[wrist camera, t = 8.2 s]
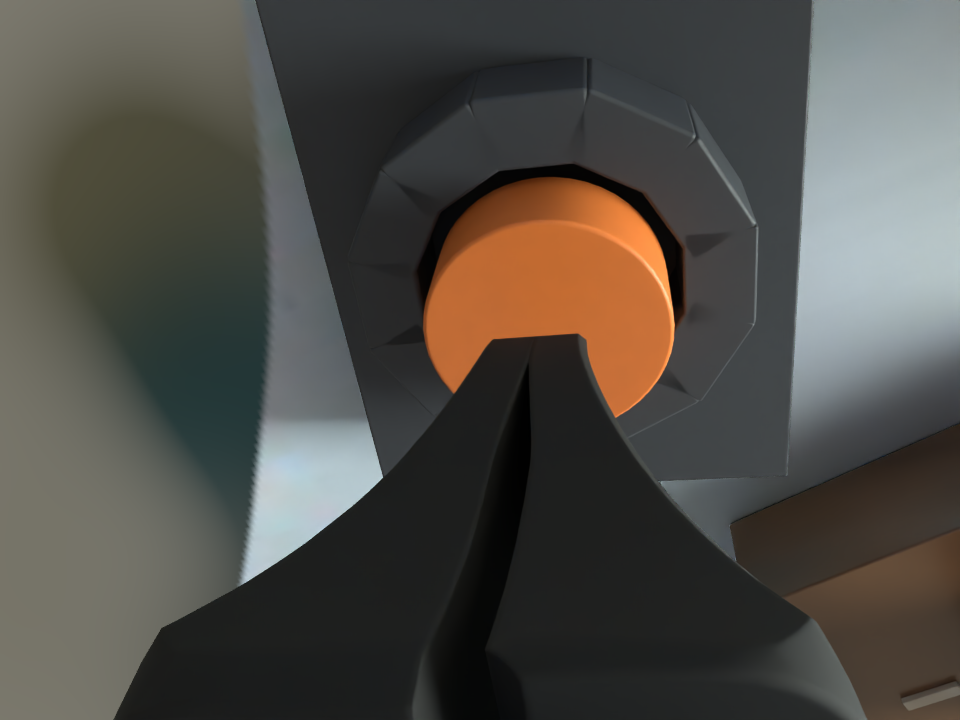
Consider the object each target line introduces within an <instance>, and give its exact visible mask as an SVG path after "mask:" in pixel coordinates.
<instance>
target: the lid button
mask: <svg viewBox="0 0 960 720" xmlns="http://www.w3.org/2000/svg"><path fill="white" fill-rule="evenodd" d="M674 327H675V324H674V314H673V307H672V300H671V294H670V287H669V281H668V274H667V268H666V262H665V258H664V254H663V251H662V248H661V246H660V243H659V241H658V239H657V236H656V235H655V233H654V232H653V230H652V228H651V227H650V225H649V224H648V223H647V221H646V220H645V219H644V218H643V217H642V215H641V214H640V213H639V212H638V211H637V210H636V209H634V208H633V207H632V206H631V205H630V204H629V203H628V202H626V201H625V200H623V199H622V198H620V197H619V196H617V195H616V194H614V193H612V192H610V191H608V190H606V189H604V188H602V187H600V186H597V185H594V184H591V183H588V182H585V181H580V180H576V179H571V178H561V177H539V178H532V179H526V180H521V181H517V182H514V183H511V184H507V185H505V186H503V187H500V188H498V189H496V190H493V191H492V192H490V193H488V194H487V195H485V196H483V197H482V198H480V199H479V200H477V201H476V202H475V203H474V204H472V205H471V206H470V207H469V208H468V209H467V210H466V211H465V212H464V213H463V214H462V215H461V216H460V217H459V218H458V220H457V221H456V222H455V224H454V225H453V227H452V228H451V229H450V231H449V233H448V235H447V237H446V239H445V241H444V244H443V247H442V250H441V253H440V256H439V259H438V262H437V265H436V269H435V272H434V275H433V279H432V282H431V285H430V288H429V292H428V295H427V298H426V302H425V308H424V314H423V331H424V338H425V344H426V347H427V351H428V354H429V357H430V359H431V361H432V363H433V366H434V368H435V370H436V371H437V373H438V375H439V376H440V378H441V379H442V381H443V382H444V383H445V385H446V386H447V387H448V388H449V389H450V391H451V392H452V393H453V394H454V393H455V392H456V390H457V389H458V387H459V386H460V385H461V383H462V382H463V380H464V379H465V377H466V376H467V374H468V373H469V372H470V370H471V369H472V367H473V366H474V364H475V363H476V361H477V360H478V358H479V356H480V355H481V353H482V352H483V350H484V349H485V347H486V346H487V345H488V344H489V343H490V342H491V341H492V339H503V338H518V337H532V336H547V335H561V334H575V333H578V334H580V335H581V336H582V337H583V338H585V339H586V340H587V350H588V357H589V360H590V364H591V367H592V370H593V372H594V375H595V377H596V380H597V382H598V385H599V387H600V389H601V391H602V393H603V395H604V397H605V399H606V401H607V403H608V405H609V407H610V409H611V411H612V412H613V414H614V416H615V418H616V417H618V416H619V415H621V414H623V413H624V412H626V411H628V410H629V409H630V408H632V407H633V406H634V405H635V404H637V403H638V402H639V401H640V400H641V399H642V398H643V397H644V396H645V395H646V394H647V393H648V392H649V391H650V390H651V389H652V387H653V386H654V385H655V383H656V382H657V381H658V379H659V378H660V376H661V374H662V372H663V371H664V369H665V367H666V365H667V362H668V360H669V357H670V354H671V351H672V346H673V341H674Z"/></svg>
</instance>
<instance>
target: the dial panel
mask: <svg viewBox="0 0 960 720" xmlns="http://www.w3.org/2000/svg"><path fill="white" fill-rule="evenodd" d="M730 530H731V536H732V541H733V547H734V552H735V557H736V562H737V563H738V564H739V565H741V566H742V567H743V568H744V569H746V570H747V571H748V572H749V573H750V574H752V575H753V576H754V577H755V578H756V579H758V580H759V581H760V582H761V583H762V584H764V585H765V586H766V587H768V588H769V589H771V590H772V591H774V592H775V593H776V594H778V595H779V596H781V597H782V598H784V599H785V600H787V601H788V602H789V603H791V604H792V605H794V606H795V607H797V608H798V609H800V610H801V611H802V612H804V613H805V614H807V615H808V616H810V617H811V618H812V619H814V620H815V621H816V622H817V623H818V625H819V627H820V628H821V630H822V631H823V633H824V635H825V636H826V638H827V640H828V642H829V643H830V645H831V647H832V648H833V650H834V652H835V654H836V655H837V657H838V659H839V661H840V663H841V665H842V667H843V668H844V670H845V672H846V674H847V676H848V678H849V680H850V682H851V684H852V686H853V688H854V691H855V693H856V695H857V697H858V699H859V702H860V704H861V706H862V709H863V711H864V713H865V716H866V718H867V720H960V423H959V424H957V425H955V426H953V427H950V428H948V429H946V430H943V431H941V432H939V433H937V434H934V435H932V436H930V437H928V438H925V439H923V440H921V441H918V442H916V443H914V444H912V445H909V446H907V447H905V448H902V449H900V450H898V451H896V452H893V453H891V454H889V455H887V456H884V457H882V458H880V459H877V460H875V461H873V462H871V463H868V464H866V465H864V466H861V467H859V468H857V469H855V470H852V471H850V472H848V473H846V474H843V475H841V476H839V477H836V478H834V479H832V480H830V481H827V482H825V483H823V484H821V485H818V486H816V487H814V488H811V489H809V490H807V491H805V492H802V493H800V494H798V495H795V496H793V497H791V498H789V499H786V500H784V501H782V502H780V503H777V504H775V505H773V506H770V507H768V508H766V509H764V510H761V511H759V512H757V513H754V514H752V515H750V516H748V517H745V518H743V519H741V520H739V521H736V522H734V523H732V524H730Z"/></svg>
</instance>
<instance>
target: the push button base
mask: <svg viewBox="0 0 960 720" xmlns="http://www.w3.org/2000/svg"><path fill="white" fill-rule="evenodd" d="M255 1H256V5H257V8H258V12H259V16H260V20H261V23H262V27H263V31H264V35H265V38H266V42H267V46H268V49H269V53H270V57H271V61H272V64H273V68H274V72H275V76H276V79H277V83H278V87H279V90H280V94H281V98H282V102H283V105H284V109H285V113H286V117H287V120H288V124H289V128H290V131H291V135H292V139H293V143H294V146H295V150H296V154H297V158H298V161H299V165H300V169H301V172H302V176H303V180H304V184H305V187H306V191H307V195H308V199H309V202H310V206H311V210H312V213H313V217H314V221H315V225H316V228H317V232H318V236H319V239H320V243H321V247H322V251H323V254H324V258H325V262H326V266H327V269H328V273H329V277H330V280H331V284H332V288H333V292H334V295H335V299H336V303H337V307H338V310H339V314H340V318H341V321H342V325H343V329H344V333H345V336H346V340H347V344H348V348H349V351H350V355H351V359H352V362H353V366H354V370H355V374H356V377H357V381H358V385H359V389H360V392H361V396H362V400H363V403H364V407H365V411H366V415H367V418H368V422H369V426H370V430H371V433H372V437H373V441H374V444H375V448H376V452H377V456H378V459H379V463H380V467H381V471H382V474H383V477H384V476H385V475H386V474H387V473H388V472H389V471H390V470H391V469H392V468H393V467H394V466H395V465H396V464H397V463H398V462H399V461H400V460H401V458H402V457H403V456H404V455H405V454H406V453H407V451H408V450H409V449H410V448H411V447H412V446H413V445H414V443H415V442H416V441H417V440H418V439H419V438H420V436H421V435H422V434H423V433H424V432H425V431H426V430H427V428H428V427H429V426H430V425H431V423H432V422H433V421H434V419H435V418H436V417H437V416H438V414H439V413H440V412H441V410H442V409H443V408H444V406H445V405H446V404H447V402H448V401H449V400H450V398H451V397H452V396H453V393H452V392H451V391H450V389H449V388H448V387H447V386H446V385H445V383H444V382H443V381H442V379H441V378H440V376H439V375H438V373H437V371H436V370H435V368H434V366H433V363H432V361H431V359H430V357H429V354H428V351H427V347H426V344H425V338H424V331H423V314H424V308H425V302H426V298H427V295H428V292H429V288H430V285H431V282H432V279H433V275H434V272H435V269H436V265H437V262H438V259H439V256H440V253H441V250H442V247H443V244H444V241H445V239H446V237H447V235H448V233H449V231H450V229H451V228H452V227H453V225H454V224H455V222H456V221H457V220H458V218H459V217H460V216H461V215H462V214H463V213H464V212H465V211H466V210H467V209H468V208H469V207H470V206H471V205H472V204H474V203H475V202H476V201H477V200H479V199H480V198H482V197H483V196H485V195H487V194H488V193H490V192H492V191H493V190H496V189H498V188H500V187H503V186H505V185H507V184H511V183H514V182H517V181H521V180H526V179H532V178H539V177H561V178H571V179H576V180H580V181H585V182H588V183H591V184H594V185H597V186H600V187H602V188H604V189H606V190H608V191H610V192H612V193H614V194H616V195H617V196H619V197H620V198H622V199H623V200H625V201H626V202H628V203H629V204H630V205H631V206H632V207H633V208H634V209H636V210H637V211H638V212H639V213H640V214H641V215H642V217H643V218H644V219H645V220H646V221H647V223H648V224H649V225H650V227H651V228H652V230H653V232H654V233H655V235H656V236H657V239H658V241H659V243H660V246H661V248H662V251H663V254H664V258H665V262H666V268H667V274H668V281H669V287H670V294H671V300H672V307H673V314H674V324H675V327H674V341H673V346H672V351H671V354H670V357H669V360H668V362H667V365H666V367H665V369H664V371H663V372H662V374H661V376H660V378H659V379H658V381H657V382H656V383H655V385H654V386H653V387H652V389H651V390H650V391H649V392H648V393H647V394H646V395H645V396H644V397H643V398H642V399H641V400H640V401H639V402H638V403H637V404H635V405H634V406H633V407H632V408H630V409H629V410H628V411H626V412H624V413H623V414H621V415H619V416H618V417H616V420H617V422H618V423H619V425H620V427H621V428H622V430H623V432H624V433H625V435H626V437H627V438H628V440H629V441H630V443H631V444H632V446H633V447H634V449H635V450H636V452H637V453H638V455H639V456H640V458H641V459H642V461H643V462H644V463H645V465H646V466H647V467H648V469H649V470H650V471H651V473H652V474H653V475H654V477H655V478H656V479H657V480H658V481H672V480H696V479H720V478H745V477H769V476H786V475H787V471H788V453H789V436H790V418H791V401H792V383H793V366H794V348H795V330H796V313H797V295H798V278H799V260H800V242H801V225H802V207H803V190H804V172H805V155H806V137H807V119H808V102H809V84H810V67H811V49H812V31H813V14H814V0H255Z"/></svg>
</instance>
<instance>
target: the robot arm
mask: <svg viewBox="0 0 960 720" xmlns="http://www.w3.org/2000/svg"><path fill="white" fill-rule="evenodd" d="M114 720H867V718H866V716H865V713H864V711H863V709H862V706H861V704H860V702H859V699H858V697H857V695H856V693H855V691H854V688H853V686H852V684H851V682H850V680H849V678H848V676H847V674H846V672H845V670H844V668H843V667H842V665H841V663H840V661H839V659H838V657H837V655H836V654H835V652H834V650H833V648H832V647H831V645H830V643H829V642H828V640H827V638H826V636H825V635H824V633H823V631H822V630H821V628H820V627H819V625H818V623H817V622H816V621H815V620H814V619H812V618H811V617H810V616H808V615H807V614H805V613H804V612H802V611H801V610H800V609H798V608H797V607H795V606H794V605H792V604H791V603H789V602H788V601H787V600H785V599H784V598H782V597H781V596H779V595H778V594H776V593H775V592H774V591H772V590H771V589H769V588H768V587H766V586H765V585H764V584H762V583H761V582H760V581H759V580H758V579H756V578H755V577H754V576H753V575H752V574H750V573H749V572H748V571H747V570H746V569H744V568H743V567H742V566H741V565H739V564H738V563H737V562H736V561H735V560H733V559H732V558H731V557H730V556H729V555H728V554H727V553H726V552H725V551H724V550H723V549H722V548H721V547H720V546H719V545H717V544H716V543H715V542H714V541H713V540H712V539H711V538H710V537H709V536H708V535H707V534H706V533H705V532H704V531H703V530H702V529H701V528H700V527H699V526H698V525H697V524H696V523H695V522H693V521H692V520H691V519H690V518H689V516H688V515H687V514H686V513H685V512H684V511H683V510H682V509H681V508H680V506H679V505H678V504H677V503H676V502H675V501H674V500H673V499H672V497H671V496H670V495H669V494H668V493H667V492H666V490H665V489H664V488H663V487H662V485H661V484H660V483H659V482H658V480H657V479H656V478H655V477H654V475H653V474H652V473H651V471H650V470H649V469H648V467H647V466H646V465H645V463H644V462H643V461H642V459H641V458H640V456H639V455H638V453H637V452H636V450H635V449H634V447H633V446H632V444H631V443H630V441H629V440H628V438H627V437H626V435H625V433H624V432H623V430H622V428H621V427H620V425H619V423H618V422H617V420H616V418H615V416H614V414H613V412H612V411H611V409H610V407H609V405H608V403H607V401H606V399H605V397H604V395H603V393H602V391H601V389H600V387H599V385H598V382H597V380H596V377H595V375H594V372H593V370H592V367H591V364H590V360H589V357H588V350H587V340H586V339H585V338H583V337H582V336H581V335H580V334H578V333H575V334H561V335H547V336H532V337H518V338H503V339H492V341H491V342H490V343H489V344H488V345H487V346H486V347H485V349H484V350H483V352H482V353H481V355H480V356H479V358H478V360H477V361H476V363H475V364H474V366H473V367H472V369H471V370H470V372H469V373H468V374H467V376H466V377H465V379H464V380H463V382H462V383H461V385H460V386H459V387H458V389H457V390H456V392H455V393H454V394H453V396H452V397H451V398H450V400H449V401H448V402H447V404H446V405H445V406H444V408H443V409H442V410H441V412H440V413H439V414H438V416H437V417H436V418H435V419H434V421H433V422H432V423H431V425H430V426H429V427H428V428H427V430H426V431H425V432H424V433H423V434H422V435H421V436H420V438H419V439H418V440H417V441H416V442H415V443H414V445H413V446H412V447H411V448H410V449H409V450H408V451H407V453H406V454H405V455H404V456H403V457H402V458H401V460H400V461H399V462H398V463H397V464H396V465H395V466H394V467H393V468H392V469H391V470H390V471H389V472H388V473H387V474H386V475H385V476H384V477H383V478H382V479H381V480H380V481H379V482H378V483H377V484H376V485H375V486H374V487H373V488H372V489H371V490H370V491H369V492H368V493H367V494H366V495H365V496H363V497H362V498H361V499H360V500H359V501H358V502H357V503H356V504H354V505H353V506H352V507H351V508H350V509H348V510H347V511H346V512H345V513H343V514H342V515H341V516H340V517H338V518H337V519H336V520H334V521H333V522H332V523H331V524H329V525H328V526H327V527H326V528H324V529H323V530H322V531H320V532H319V533H318V534H317V535H315V536H314V537H313V538H312V539H310V540H309V541H308V542H306V543H305V544H304V545H302V546H301V547H299V548H298V549H297V550H295V551H294V552H292V553H291V554H289V555H288V556H286V557H285V558H283V559H282V560H280V561H279V562H278V563H276V564H275V565H273V566H271V567H270V568H268V569H267V570H265V571H263V572H262V573H260V574H259V575H257V576H256V577H254V578H252V579H251V580H249V581H248V582H246V583H244V584H243V585H241V586H239V587H238V588H236V589H234V590H233V591H231V592H229V593H227V594H225V595H223V596H221V597H220V598H218V599H216V600H214V601H212V602H211V603H208V604H207V605H205V606H203V607H201V608H200V609H197V610H196V611H194V612H192V613H190V614H188V615H186V616H185V617H183V618H181V619H179V620H177V621H175V622H173V623H171V624H169V625H167V626H165V627H163V628H161V630H160V632H159V634H158V635H157V637H156V639H155V640H154V642H153V644H152V645H151V647H150V649H149V651H148V652H147V654H146V656H145V658H144V659H143V661H142V662H141V664H140V666H139V669H138V671H137V673H136V675H135V677H134V679H133V681H132V683H131V685H130V687H129V689H128V691H127V693H126V695H125V697H124V699H123V701H122V703H121V705H120V707H119V709H118V711H117V714H116V716H115V718H114Z"/></svg>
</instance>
